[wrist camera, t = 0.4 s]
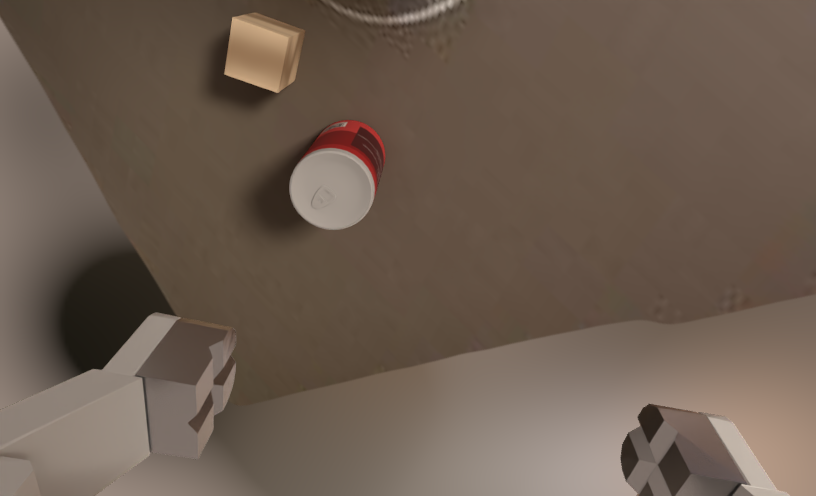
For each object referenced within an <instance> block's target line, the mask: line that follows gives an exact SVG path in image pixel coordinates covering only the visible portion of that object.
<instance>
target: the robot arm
mask: <svg viewBox="0 0 816 496" xmlns="http://www.w3.org/2000/svg"><path fill="white" fill-rule="evenodd" d="M235 345H236V331H235V329H234V328H232V327H227V326H222V325H217V324H212V323H207V322H203V321H198V320H193V319H188V318H183V317H182V318H180V317H176V316H171V315H166V314H161V313H154V314H152V315H150V316H148V317H147V318H146V320H145V321H144V322H143V323H142V324H141V325H140V327H139V328H138V329H137V330H136V331H135V332H134V333H133V335H132V336H131V337H130V338H129V339H128V340H127V342H126V343H125V344H124V345H123V346H122V347H121V349H120V350H119V351H118V352H117V353H116V355H115V356H114V357H113V358H112V359H111V360H110V361H109V362H108V364H107V365H106V366H105V367H104V368H103V369H102V370H97V369H92V370H90V371H88V372H85V373H83V374H81V375H78V376H76V377H74V378H71V379H69V380H67V381H65V382H62V383H60V384H58V385H55V386H53V387H51V388H49V389H47V390H44V391H42V392H40V393H37V394H35V395H32V396H30V397H28V398H26V399H23V400H21V401H19V402H16V403H14V404H12V405H10V406H7V407H5V408H3V409H0V496H95V495H96V494H98V493H99V492H100V491H102V490H103V489H105V488H106V487H107V486H109V485H110V484H111V483H113V482H114V481H115V480H117V479H118V478H120V477H121V476H122V475H124V474H125V473H126V472H128V471H129V470H130V469H132V468H133V467H135V466H136V465H137V464H138V463H140V462H141V461H143V460H144V459H145V458H147V457H148V456H149V455H150V452H152V453H159V454H166V455H174V456H180V457H187V458H194V459H198V458H199V457H200V455H201V453H202V451H203V449H204V447H205V445H206V443H207V441H208V439H209V437H210V435H211V433H212V431H213V429H214V427H213V426H214V421H213V420H214V415H216V414H218V413H219V412H221V411H223V409H224V407H225V405H226V403H227V401H228V399H229V396H230V393H231V390H232V387H233V383H234V377H235V369H236V362H235V360H234V359H233V358H232V356H231V353H232V351H233V349H234V347H235ZM638 420H639V423H640V427H638V428H636V429H634V430H632V431H631V432H629V433H628V434H627V436H626V438H625V440H624V442H623V444H622V450H621V465H622V471H623V474H624V476H625V479H626V482H627V483H628V484H629V485H630V486H631V487H632V488H633V489H634V490H635V491H636V492H637V493H638V494H637V496H790V495H789V494H787V493H786V492H782V491H778V490H777V489H776V487H775V486H774V484H773V483H772V481H771V480H770V478H769V477H768V475H767V474H766V472H765V471H764V469H763V468H762V466H761V465H760V463H759V461H758V460H757V458H756V457H755V455H754V454H753V452H752V451H751V449H750V448H749V446H748V445H747V443H746V442H745V440H744V438H743V437H742V435H741V434H740V432H739V431H738V429H737V428H736V426H735V425H734V423H733V422H732V421H731V420H729V419H728V418H727V417H725V416H719V415H714V414H708V413H701V412H699V413H697V412H693V411H688V410H682V409H676V408H670V407H665V406H659V405H653V404H648V405H647V406H646V407H644V408H643V409H642V411H641V412H640V414H639V415H638Z"/></svg>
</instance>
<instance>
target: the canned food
mask: <svg viewBox="0 0 816 496" xmlns="http://www.w3.org/2000/svg"><path fill="white" fill-rule="evenodd" d="M384 163H385V149H384V146H383V142H382V141H381V139H380V137H379V135H378V134H377V133H376V132H375V131H374V130H373V129H372V128H371V127H369V126H368V125H366V124H364V123H362V122H358V121H353V120H344V121H339V122H335V123H333V124H331V125H329V126H328V127H327V128H325V129H324V130H323V131H322V132H321V134H320V135H319V136H318V138H317V139H316V140H315V141H314V143H313V144H312V145H311V147H310V148H309V149H308V151H307V152H306V153H305V154H304V156H303V157H302V158H301V160H300V161H299V162H298V164H297V165H296V167H295V169H294V171H293V173H292V176H291V179H290V184H289V192H290V197H291V201H292V203H293V206H294V207H295V209H296V210H297V212H298V213H299V214H300V215H301V216H302V217H303V218H304V219H305V220H306V221H308V222H309V223H310V224H312V225H315V226H317V227H320V228H323V229H330V230H337V229H344V228H347V227H350V226H352V225H354V224H356V223H357V222H359V221H360V220H361V219H362V218H363V217H364V216H365V215H366V214H367V212H368V211H369V209H370V207H371V205H372V203H373V200H374V197H375V194H376V191H377V187H378V184H379V180H380V177H381V173H382V170H383V166H384Z"/></svg>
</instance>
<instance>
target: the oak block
mask: <svg viewBox="0 0 816 496" xmlns="http://www.w3.org/2000/svg"><path fill="white" fill-rule="evenodd" d="M304 34H305V30H302V29H300V28H297V27H294V26H291V25H289V24H286V23H283V22H280V21H278V20H275V19H272V18H269V17H266V16H264V15H261V14H258V13H250V14H246V15H241V16H236V17H232V24H231V31H230V38H229V45H228V52H227V59H226V66H225V73H224V75H227V76H230V77H233V78H236V79H239V80H242V81H245V82H247V83H250V84H253V85H256V86H259V87H262V88H265V89H268V90H270V91H273V92H276V93H279V92H280V91H281V90H283V89H284V88H285V87H287V86H288V85H289V84H291V83H292V82H293V81H295V76H296V72H297V67H298V62H299V58H300V53H301V48H302V44H303V39H304Z"/></svg>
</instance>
